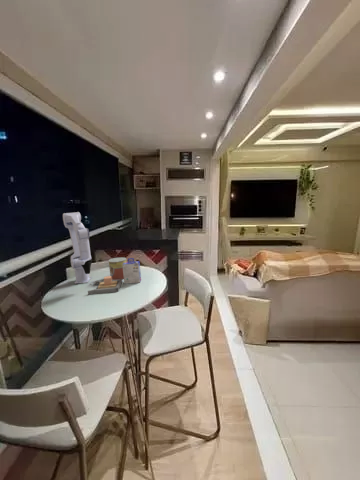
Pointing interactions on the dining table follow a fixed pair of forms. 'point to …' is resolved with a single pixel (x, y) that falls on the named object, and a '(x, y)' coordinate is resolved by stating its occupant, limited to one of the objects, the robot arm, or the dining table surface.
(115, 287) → the dock
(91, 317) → the dining table surface
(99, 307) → the dining table surface
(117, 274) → the canned food
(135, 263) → the ink cartridge box
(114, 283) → the pallet
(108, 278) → the salmon pink cube
